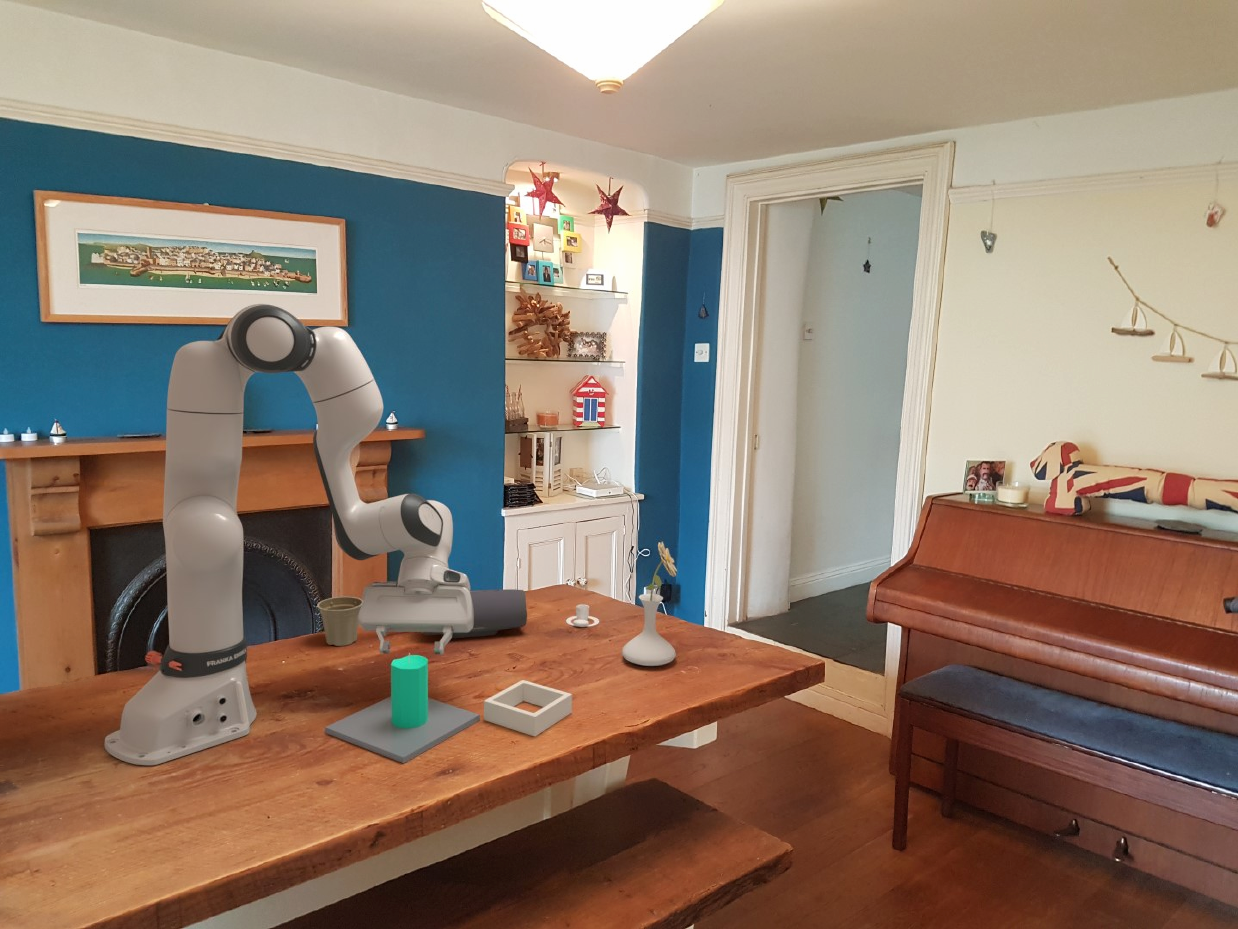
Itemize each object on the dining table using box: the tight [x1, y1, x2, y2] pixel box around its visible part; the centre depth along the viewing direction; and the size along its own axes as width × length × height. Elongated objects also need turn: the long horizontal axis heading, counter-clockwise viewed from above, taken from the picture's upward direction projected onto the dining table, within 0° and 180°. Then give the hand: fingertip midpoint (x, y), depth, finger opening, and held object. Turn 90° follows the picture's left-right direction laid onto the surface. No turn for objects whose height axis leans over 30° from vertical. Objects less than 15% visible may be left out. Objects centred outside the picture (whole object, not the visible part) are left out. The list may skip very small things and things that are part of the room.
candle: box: [390, 652, 429, 728], centre depth 138 cm, size 6×6×12 cm
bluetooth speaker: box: [421, 588, 528, 639], centre depth 183 cm, size 23×9×10 cm, turn 108°
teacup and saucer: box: [565, 604, 600, 628], centre depth 194 cm, size 9×8×4 cm
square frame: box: [483, 679, 573, 737], centre depth 144 cm, size 11×11×4 cm
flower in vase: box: [621, 541, 678, 667], centre depth 171 cm, size 13×11×25 cm
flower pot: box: [316, 596, 363, 647], centre depth 176 cm, size 9×9×9 cm
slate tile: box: [324, 696, 481, 764], centre depth 139 cm, size 18×18×1 cm
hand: (411, 653), depth 143 cm, fingers open, 8 cm apart
